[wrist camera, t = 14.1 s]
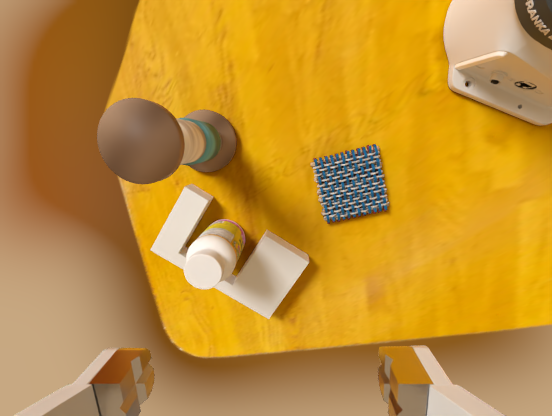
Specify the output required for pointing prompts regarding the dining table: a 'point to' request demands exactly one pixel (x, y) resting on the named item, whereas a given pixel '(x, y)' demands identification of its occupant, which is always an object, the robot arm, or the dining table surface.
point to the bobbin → (162, 140)
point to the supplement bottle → (214, 254)
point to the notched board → (257, 269)
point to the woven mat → (351, 184)
